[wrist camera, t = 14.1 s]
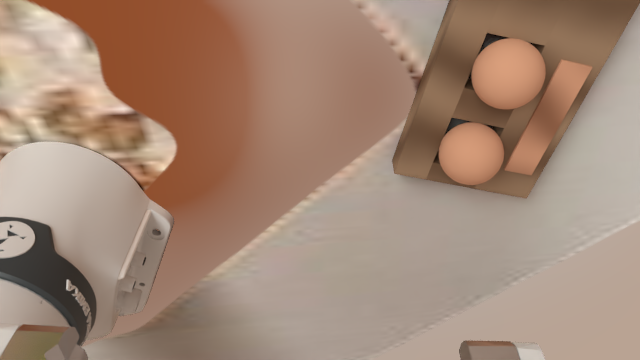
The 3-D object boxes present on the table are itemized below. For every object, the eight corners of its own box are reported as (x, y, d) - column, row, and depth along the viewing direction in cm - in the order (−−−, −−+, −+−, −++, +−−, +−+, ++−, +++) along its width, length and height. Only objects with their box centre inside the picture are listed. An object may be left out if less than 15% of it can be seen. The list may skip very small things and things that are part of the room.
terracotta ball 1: (481, 166, 45) (495, 202, 41) (426, 155, 44) (435, 191, 40) (505, 117, 42) (522, 151, 38) (446, 105, 42) (458, 138, 37)
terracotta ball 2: (514, 95, 41) (536, 127, 37) (454, 83, 40) (470, 115, 36) (543, 35, 38) (570, 63, 34) (479, 21, 37) (499, 48, 33)
